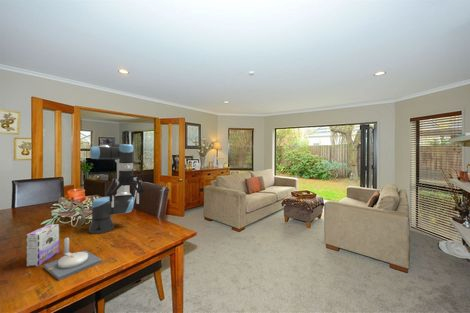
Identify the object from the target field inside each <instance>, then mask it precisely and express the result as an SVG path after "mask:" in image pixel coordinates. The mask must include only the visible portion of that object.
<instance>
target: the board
mask: <svg viewBox="0 0 470 313" xmlns="http://www.w3.org/2000/svg"><path fill="white" fill-rule="evenodd" d="M80 252H86V253H88V260H87V261H86V262H85V263H83V264H81V265H79V266H76V267H72V268H59V267H58V260H59V259H56V260H52V261H51V262H50V261H49V262H48V263H47V262H46V263H45V264H43V268H44V269H45V271H46V272H48V273H49V274H51V275H52V276H53V277H54V278H55V279H56V280H58V281H61V280H63V279H66V278H68V277H70V276H73V275H75V274H78V273H80V272H83V271H84V270H86V269H87V270H88V269H89V268H91V267H94V266H96V265H98V264H101V263H102V261H103V259H102V258H100V257H99V256H96V255H95V254H93V253H91V252H89V251H88V250H85V249H84V250H82V251H80Z"/></svg>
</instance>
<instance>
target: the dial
mask: <svg viewBox="0 0 470 313" xmlns="http://www.w3.org/2000/svg"><path fill="white" fill-rule="evenodd" d="M63 240H64V242H63V247H64V248H63V249H64V250H63V255H64V256H62V257H60V258H59V259H57V260H58V267H59V268H72V267H76V266H79V265H81V264H83V263H85V262H86V261H87V260H88V253H86V252H81V251H77V252H73V253H72V252H71V251H70V237H65V238H64V239H63Z"/></svg>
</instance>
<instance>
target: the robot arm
mask: <svg viewBox="0 0 470 313" xmlns="http://www.w3.org/2000/svg"><path fill="white" fill-rule="evenodd" d="M89 148H90V149H89V156H90V159H92V160H114V161H115V163H116V178H112V180H111V183H110V184H109V187H108V189H107V191H106V192H105V195H106V196H103V197H98V198H96V199H95V198H94V200H93V201H92V202H91V221H90V224H89V228H88V233H90V234H92V235H97V234H105V233H108V232H111V231H112V230H114V228H115V227H114V222H113V220H112V215H120V214H122V215H123V214H127V213H131V212H132V211H133V208H134V202H136V204H137V205H139V204H140V199H141V197H142V196H141V195H142V193H143V192H144V191H145V190H144V187H143V186H142V184H141V183H140V179H139V177H138V176H136V177H134V145H133V144H127V143H105V144H101V145H99V146H91V147H89ZM134 181H135V182H136V184H137V186H138V187H137V186H136V184H134V183H133V182H134ZM115 185H116V186H115ZM130 185H131V187H133V189H134V190H135V191H136V198H134V196H132V195H133V194H132V193H131V192H130V191H131V190H130ZM114 186H115V187H114ZM115 193H116V194H115ZM114 194H115V195H114ZM135 199H136V201H135Z"/></svg>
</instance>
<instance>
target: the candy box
mask: <svg viewBox="0 0 470 313" xmlns="http://www.w3.org/2000/svg"><path fill="white" fill-rule="evenodd" d="M25 252H26V256H25V257H26V259H25V260H26V267H39V266H41V265H42V264H43V263H46V262H47V261H48V260H50V259H51V258H53V257H55V256H56V255H57V254H59V253H60V224H59V223H58V224H57V223H56V224H55V223H54V224H52V223H51V224H46V225H44V226H42V227H41V228H38V229H36V230H34V231H32V232H29V233H26V251H25Z"/></svg>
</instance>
